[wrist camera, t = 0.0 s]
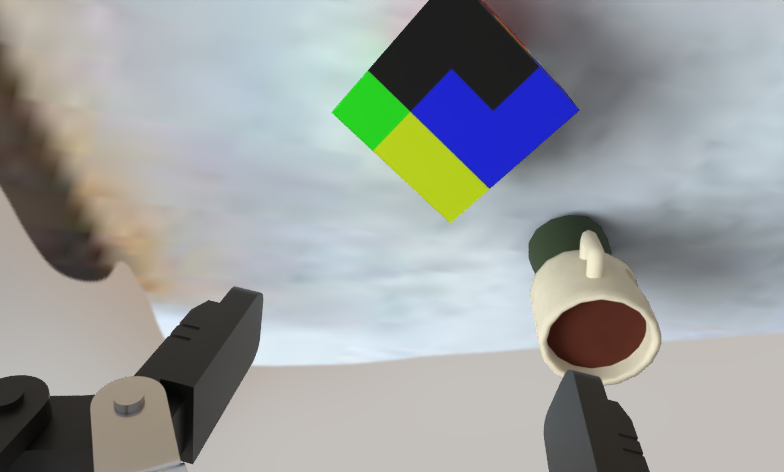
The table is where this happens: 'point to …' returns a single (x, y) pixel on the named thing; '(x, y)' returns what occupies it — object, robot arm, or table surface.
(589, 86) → the table surface
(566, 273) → the character mug
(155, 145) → the table surface
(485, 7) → the puzzle toy
